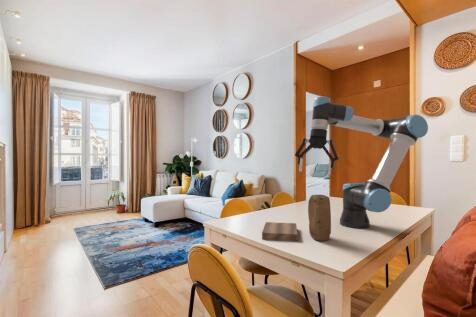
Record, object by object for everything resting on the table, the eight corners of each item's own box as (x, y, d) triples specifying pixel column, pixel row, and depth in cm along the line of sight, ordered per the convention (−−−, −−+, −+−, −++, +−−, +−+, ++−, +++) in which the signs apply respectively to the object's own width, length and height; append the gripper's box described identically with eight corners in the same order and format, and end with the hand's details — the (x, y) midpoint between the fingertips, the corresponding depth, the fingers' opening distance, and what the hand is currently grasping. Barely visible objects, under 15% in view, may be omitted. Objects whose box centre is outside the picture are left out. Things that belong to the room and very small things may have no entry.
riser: (296, 229, 130) (296, 223, 130) (297, 241, 112) (297, 234, 112) (265, 227, 134) (265, 222, 134) (262, 239, 115) (262, 232, 115)
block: (332, 241, 111) (332, 196, 111) (317, 242, 110) (316, 197, 110) (320, 234, 122) (320, 193, 121) (306, 234, 120) (305, 193, 120)
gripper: (291, 127, 122) (287, 169, 122) (346, 128, 110) (341, 176, 110) (295, 129, 129) (291, 170, 128) (347, 131, 117) (343, 176, 116)
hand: (314, 173), depth 119 cm, fingers open, 13 cm apart
